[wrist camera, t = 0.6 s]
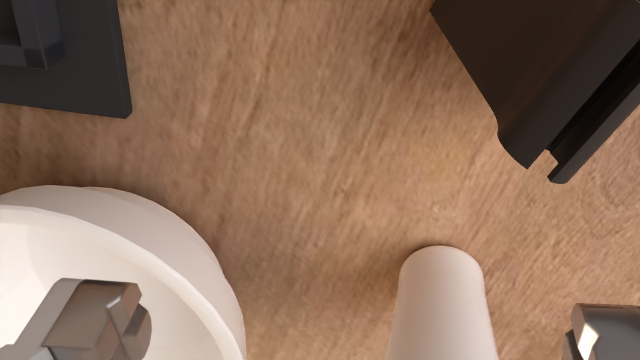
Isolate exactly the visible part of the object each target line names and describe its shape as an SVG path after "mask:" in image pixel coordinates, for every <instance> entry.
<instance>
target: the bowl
mask: <svg viewBox="0 0 640 360" xmlns="http://www.w3.org/2000/svg"><path fill="white" fill-rule="evenodd" d="M61 278H75V279H92V280H105V281H118V282H131V283H137V284H138V287H139V289H140V291H141V293H142V297H141V299H140V301H139V304H141V305H142V306H143V307H144V308H146V309H147V310H148V312H149V314H150V317H151V323H152V333H151V339H150V345H149V347H148V350H147V352H146V355H145V357H144V358H143V359H142V360H247V353H246V337H245V328H244V322H243V316H242V311H241V309H240V306H239V304H238V301H237V299H236V296H235V294H234V291H233V289H232V288H231V286H230V285H229V283H228V282H227V280H226V279H225V277H224V274H223V272H222V269H221V267H220V264H219V262H218V260H217V258H216V256H215V255H214V253H213V252H212V250H211V249H210V247H209V246H208V244H207V243H206V242H205V241H204V240H203V239H202V238H201V236H200V235H199V234H198V233H197V232H196V231H195V230H194V229H193V228H192V227H191V226H190V225H188V224H187V223H186V222H185V221H183V220H182V219H181V218H179V217H178V216H177V215H176V214H174V213H173V212H171V211H169V210H168V209H166V208H164V207H162V206H161V205H159V204H157V203H155V202H154V201H151V200H149V199H146V198H144V197H141V196H139V195H136V194H133V193H130V192H126V191H121V190H117V189H113V188H104V187H82V188H80V187H70V186H55V185H43V186H35V187H28V188H20V189H17V190H14V191H11V192H8V193H5V194H2V195H0V348H1V347H3V346H4V345H6V344H14V343H15V341H16V340H17V338H18V337H19V335H20V334H21V332H22V331H23V329H24V328H25V326H26V325H27V323H28V322H29V320H30V319H31V317H32V316H33V314H34V313H35V311H36V310H37V308H38V307H39V305H40V304H41V302H42V301H43V299H44V298H45V296H46V295H47V293H48V292H49V290H50V289H51V287H52V286H53V284H54V283H55V282H56V281H58V280H59V279H61Z"/></svg>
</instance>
